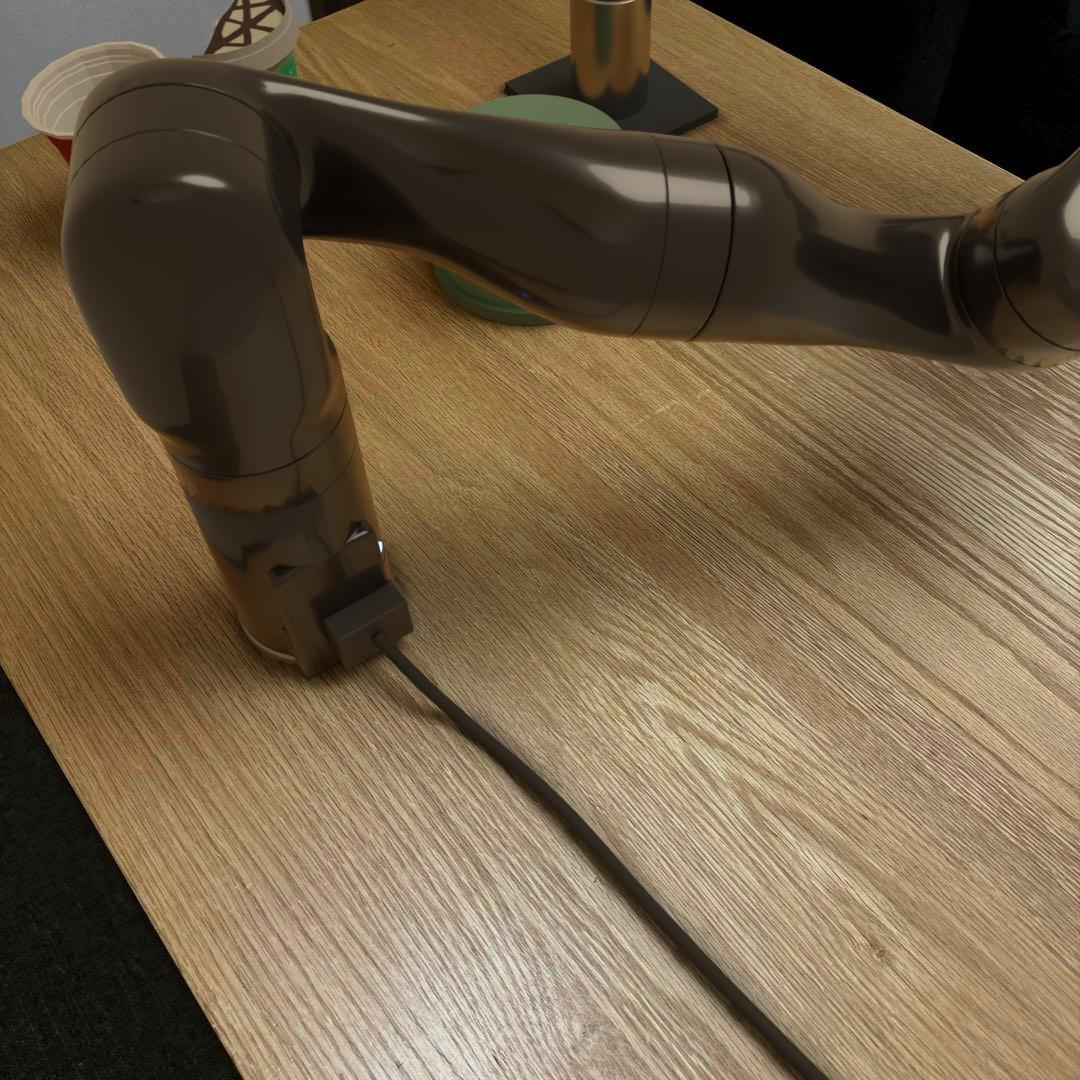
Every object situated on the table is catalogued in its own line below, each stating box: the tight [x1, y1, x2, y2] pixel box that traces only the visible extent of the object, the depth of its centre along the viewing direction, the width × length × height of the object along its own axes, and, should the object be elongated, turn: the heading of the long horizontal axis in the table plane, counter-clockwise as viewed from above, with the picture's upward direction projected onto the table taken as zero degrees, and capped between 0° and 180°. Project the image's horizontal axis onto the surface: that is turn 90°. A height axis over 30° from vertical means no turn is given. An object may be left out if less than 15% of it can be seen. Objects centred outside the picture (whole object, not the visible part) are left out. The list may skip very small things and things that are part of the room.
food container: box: [191, 0, 300, 78], centre depth 96 cm, size 12×6×10 cm, turn 171°
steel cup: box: [569, 0, 653, 120], centre depth 96 cm, size 6×6×10 cm
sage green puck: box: [431, 94, 621, 326], centre depth 86 cm, size 15×15×9 cm
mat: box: [504, 53, 719, 136], centre depth 100 cm, size 14×12×1 cm
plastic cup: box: [20, 40, 167, 166], centre depth 89 cm, size 11×11×12 cm
